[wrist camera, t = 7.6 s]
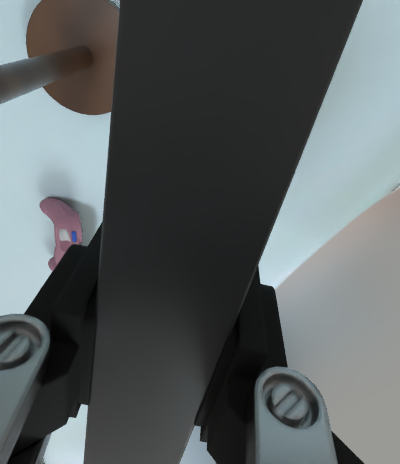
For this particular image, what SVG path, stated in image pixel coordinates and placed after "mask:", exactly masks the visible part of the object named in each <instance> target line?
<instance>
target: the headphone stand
mask: <svg viewBox="0 0 400 464" xmlns="http://www.w3.org/2000/svg"><path fill="white" fill-rule="evenodd" d="M118 21H119V7H117V6H116V5H115V4H114V3H113V2H112V1H110V0H41V2H40V3H39V4H38V5H37V6H36V8H35V9H34V11H33V13H32V15H31V17H30V20H29V23H28V27H27V34H26V45H27V53H28V57H29V58H28V59H24V60H20V61H16V62H12V63H8V64H3V65H0V104H2V103H5V102H7V101H9V100H12V99H14V98H17V97H19V96H21V95H24V94H26V93H29V92H31V91H33V90H36V89H38V88H41V87H43V88H44V89H45V91H46V92H47V93H48V94H49V95H50V96H51V97H52V98H53V99H54V100H56V101H57V102H58V103H60V104H61V105H63V106H64V107H66V108H68V109H70V110H72V111H74V112H78V113H81V114H87V115H100V114H105V113H108V112H111V110H112V97H113V84H114V72H115V59H116V47H117V34H118Z"/></svg>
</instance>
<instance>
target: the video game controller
mask: <svg viewBox="0 0 400 464" xmlns="http://www.w3.org/2000/svg"><path fill="white" fill-rule="evenodd" d="M40 208H41V210H42V211H43V212H44V213H45V214H46V215H47V216H48V217H49V218H50V219H51V220H52V222H53V224H54V232H55V243H56V247H55V251H54V257H53V258H51V259H50V260H49V262H48V265H49V268H50V269H51V270H52V271H53V270H54V269H55V267H56V266H57V264H58V263H59V261H60V260H61V258H62V257H63V255H64V254H65V252H66V251H67V249H68V248H69V247H70V246H71V245H72V244H78V245H80V243H82V223H81V221H80V217H79V213H78V212H75V211H74V210H73V209H72V208H71V207H70V206H68V205H67V204H66V203H64V202H62V201H60V200H58V199H54V198H47V199H44V200H42V201H41V203H40Z"/></svg>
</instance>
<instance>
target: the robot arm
mask: <svg viewBox="0 0 400 464" xmlns="http://www.w3.org/2000/svg"><path fill="white" fill-rule="evenodd" d="M102 224H103V222H102V223H101V225H100V227H99V228H98V230H97V232H96V233H95V235H94V237H93V238H92V240H91V242H90V244H89V245H88V247H87V246H82V245H78V244H72V245H71V246H70V247H69V248H68V249H67V251H66V252H65V254H64V255H63V257H62V258H61V260H60V261H59V263H58V264H57V266H56V267H55V269H54V270H53V272H52V273H51V275H50V276H49V278H48V279H47V281H46V282H45V284H44V285H43V287H42V288H41V289H40V291H39V292H38V294H37V295H36V297H35V298H34V300H33V301H32V303H31V304H30V306H29V307H28V309H27V310H26V312H25V313H24V314H9V315H3V316H0V464H41V461H42V458H43V456H44V453H45V450H46V447H47V445H48V442H49V439H50V436H51V433H52V432H53V431H55V430H57V429H59V428H60V427H62V426H64V425H65V424H66V423H67V421H68V418H69V417H73V418H76V416H77V414H78V411H79V408H80V406H81V404H84V405H89V397H90V385H91V373H92V360H93V348H94V336H95V323H96V314H95V312H96V300H97V287H98V274H99V262H100V249H101V236H102ZM194 425H196V426H201V433H200V441H202V442H207V451H208V452H209V454H210V455H211V456H212V457H213V459H214V460H215V462H216V464H364V463H363V462H362V461H361V460H360V459H359V458H358V457H357V456H356V455H355V454H354V453H353V452H352V451H351V450H350V449H349V448H348V447H347V446H346V445H345V444H344V443H343V442H342V441H341V440H340V439H339V438H338V437H337V436H336V435H335V434H334V433H333V432H332V431H331V428H330V423H329V418H328V413H327V408H326V405H325V402H324V399H323V397H322V395H321V393H320V392H319V390H318V389H317V387H316V386H315V385H314V384H313V383H312V382H311V381H310V380H309V379H308V378H307V377H305V376H304V375H302V374H300V373H299V372H298V371H295V370H292V369H290V368H288V367H287V361H286V355H285V348H284V342H283V336H282V331H281V325H280V318H279V312H278V306H277V300H276V294H275V290H274V288H273V287H272V286H267V285H263V284H260V276H259V268H258V266H257V269H256V271H255V274H254V276H253V279H252V282H251V284H250V287H249V289H248V292H247V294H246V297H245V299H244V302H243V304H242V307H241V309H240V312H239V314H238V317H237V319H236V322H235V324H234V327H233V329H232V332H231V335H230V337H229V340H228V342H227V344H225V347H224V349H223V352H222V355H221V357H220V360H219V362H218V365H217V367H216V370H215V372H214V375H213V377H212V380H211V382H210V385H209V388H208V390H207V393H206V395H205V398H204V400H203V403H202V405H201V408H200V410H199V413H198V415H197V418H196V421H195V423H194Z"/></svg>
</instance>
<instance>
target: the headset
mask: <svg viewBox="0 0 400 464" xmlns="http://www.w3.org/2000/svg"><path fill="white" fill-rule="evenodd" d="M362 1H363V0H120V9H119V21H118V34H117V47H116V59H115V72H114V84H113V97H112V110H111V122H110V135H109V148H108V160H107V173H106V186H105V198H104V211H103V224H102V236H101V249H100V262H99V274H98V287H97V300H96V312H95V314H96V323H95V336H94V348H93V360H92V373H91V385H90V397H89V405H88V413H87V426H86V439H85V451H84V464H179V463H180V461H181V458H182V456H183V453H184V451H185V448H186V446H187V443H188V440H189V438H190V435H191V433H192V430H193V428H194V423H195V421H196V418H197V415H198V413H199V410H200V408H201V405H202V403H203V400H204V398H205V395H206V393H207V390H208V388H209V385H210V382H211V380H212V377H213V375H214V372H215V370H216V367H217V365H218V362H219V360H220V357H221V355H222V352H223V349H224V347H225V344H227V342H228V340H229V337H230V335H231V332H232V329H233V327H234V324H235V322H236V319H237V317H238V314H239V312H240V309H241V307H242V304H243V302H244V299H245V297H246V294H247V292H248V289H249V287H250V284H251V282H252V279H253V276H254V274H255V271H256V269H257V266H258V264H259V261H260V259H261V256H262V254H263V251H264V249H265V246H266V244H267V241H268V239H269V236H270V234H271V231H272V229H273V226H274V223H275V221H276V218H277V216H278V213H279V211H280V208H281V206H282V203H283V201H284V198H285V196H286V193H287V191H288V188H289V186H290V183H291V181H292V178H293V176H294V173H295V170H296V168H297V165H298V163H299V160H300V158H301V155H302V153H303V150H304V148H305V145H306V143H307V140H308V138H309V135H310V133H311V130H312V128H313V125H314V123H315V120H316V117H317V115H318V112H319V110H320V107H321V105H322V102H323V100H324V97H325V95H326V92H327V90H328V87H329V85H330V82H331V80H332V77H333V75H334V72H335V70H336V67H337V64H338V62H339V59H340V57H341V54H342V52H343V49H344V47H345V44H346V42H347V39H348V37H349V34H350V32H351V29H352V27H353V24H354V22H355V19H356V17H357V14H358V11H359V9H360V6H361V4H362Z"/></svg>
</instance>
